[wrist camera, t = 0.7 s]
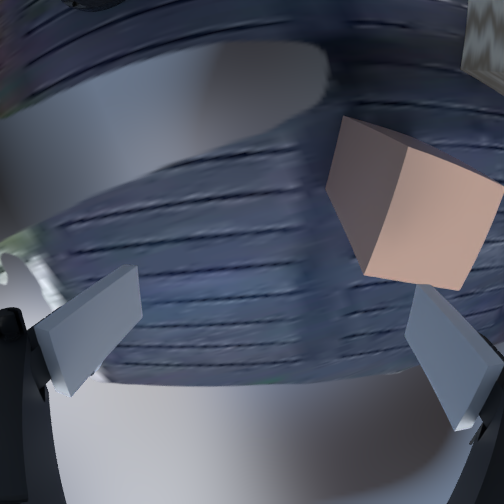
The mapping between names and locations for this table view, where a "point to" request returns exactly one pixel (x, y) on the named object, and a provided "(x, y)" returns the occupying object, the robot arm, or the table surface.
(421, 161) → the block
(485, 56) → the stand
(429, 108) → the table surface
